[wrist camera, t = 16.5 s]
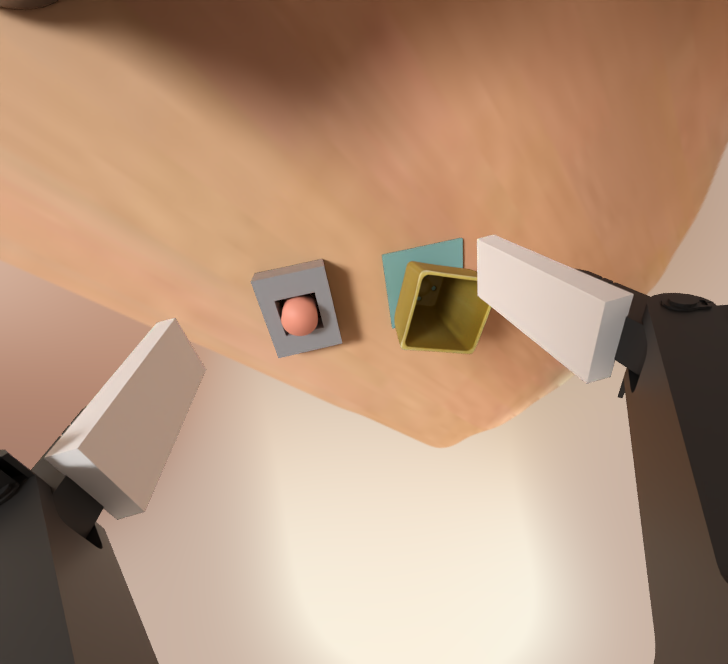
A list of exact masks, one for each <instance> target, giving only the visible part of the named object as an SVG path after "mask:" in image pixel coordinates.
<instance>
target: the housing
mask: <svg viewBox="0 0 728 664" xmlns="http://www.w3.org/2000/svg"><path fill="white" fill-rule="evenodd" d="M251 284H252V287H253V289H254V292H255V295H256V298H257V300H258V303H259V306H260V308H261V311H262V314H263V317H264V319H265V322H266V325H267V328H268V330H269V333H270V336H271V339H272V341H273V344H274V347H275V350H276V352H277V355H278V358H281V357H286V356H290V355H294V354H299V353H303V352H307V351H312V350H316V349H320V348H325V347H329V346H333V345H338V344H342V339H341V334H340V330H339V326H338V321H337V317H336V313H335V309H334V305H333V300H332V296H331V292H330V288H329V283H328V279H327V275H326V271H325V267H324V262H323V259H320V260H315V261H310V262H306V263H301V264H296V265H292V266H287V267H282V268H278V269H273V270H268V271H264V272H259V273H255V274H254V276H253V278H252V280H251ZM313 292H315V295H316V299H317V303H318V307H319V311H320V314H321V318H318V323H317V326H316V328H315V329H314V330H313V331H312V332H311V333H310V334H308V335H305V336H295V335H292V334H290V333H288V332H287V331H286V330H285V329H284V327H283V325H282V322H281V317H282V311H283V310H282V307H281V304H280V301H279V300H281V299H286V298H290V297H295V296H300V295H304V294H309V293H313Z"/></svg>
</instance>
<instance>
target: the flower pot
mask: <svg viewBox="0 0 728 664" xmlns="http://www.w3.org/2000/svg"><path fill="white" fill-rule="evenodd" d="M426 275H427V276H426ZM425 276H426V277H425ZM433 286H435V287H436V289H435V290H432V287H433ZM418 297H421V299H420V300H417V298H418ZM491 308H492V307H491V306H490V305H488V304H487V303H486V302H485V301H483V300H482V299H481V298H480V297H479V296H478V284H477V272H476V271H473V270H470V269H465V268H457V267H449V266H441V265H434V264H427V263H421V262H415V261H410V262H409V263H408V264H407V266H406V270H405V274H404V279H403V283H402V287H401V291H400V295H399V299H398V303H397V307H396V311H395V317H394V322H395V328H396V331H397V335H398V339H399V343H400V346H401V349H403V350H416V351H432V352H446V353H459V354H472V353H473V352H474V350H475V348H476V346H477V344H478V341H479V339H480V336H481V333H482V331H483V328H484V326H485V323H486V320H487V318H488V315H489V313H490V310H491Z"/></svg>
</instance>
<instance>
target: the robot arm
mask: <svg viewBox="0 0 728 664" xmlns="http://www.w3.org/2000/svg"><path fill="white" fill-rule="evenodd" d="M56 1H58V0H0V7H4V8H11V9H34V8H39V7H44V6H47V5H50V4H52V3H54V2H56ZM477 284H478V296H479V297H480V298H481V299H482V300H483V301H485V302H486V303H487V304H488V305H490V306H491V307H492V308H493V309H495V310H496V311H497V312H498V313H500V314H501V315H502V316H503V317H505V318H506V319H507V320H508V321H509V322H511V323H512V324H513V325H514V326H516V327H517V328H518V329H519V330H521V331H522V332H523V333H524V334H526V335H527V336H528V337H529V338H530V339H532V340H533V341H534V342H535V343H537V344H538V345H539V346H540V347H542V348H543V349H544V350H545V351H547V352H548V353H549V354H550V355H552V356H553V357H554V358H555V359H556V360H558V361H559V362H560V363H561V364H563V365H564V366H565V367H566V368H568V369H569V370H570V371H571V372H573V373H574V374H575V375H576V376H578V377H579V378H580V379H581V380H582V381H584V382H585V383H586V384H588V383H591V382H594V381H598V380H601V379H605V378H608V377H611V373H612V370H613V366H614V362H615V360H616V361H618V362H619V363H621V364H622V365H624V366H625V367H627V369H626V372H625V375H624V378H623V381H622V385H621V388H620V391H619V394H618V397H619V398H623V395H624V393H626V402H627V410H628V418H629V426H630V434H631V443H632V451H633V459H634V468H635V476H636V483H637V492H638V500H639V509H640V516H641V525H642V533H643V542H644V550H645V558H646V567H647V575H648V583H649V591H650V599H651V607H652V616H653V623H654V631H655V660H654V664H728V305H720V306H717V305H715V304H714V303H713V302H712V301H709V300H707V299H704V298H702V297H698V296H694V295H690V294H681V293H663V294H658V295H654V296H652V297H650V296H647V295H645V294H642V293H640V292H638V291H635V290H633V289H630V288H628V287H625V286H623V285H621V284H618V283H613V281H611V280H608V279H606V278H602V277H601V276H599V275H596V274H594V273H592V272H589V271H584V270H579V269H574V268H571V267H569V266H566V265H564V264H562V263H559V262H557V261H555V260H552V259H550V258H548V257H545V256H543V255H541V254H538V253H536V252H534V251H531V250H529V249H527V248H524V247H522V246H519V245H517V244H515V243H512V242H510V241H508V240H505V239H503V238H501V237H498V236H496V235H490V236H486V237H482V238H479V239H477ZM205 371H206V368H205V366H204V364H203V363H202V361H201V360H200V358H199V356H198V355H197V353H196V352H195V350H194V348H193V346H192V345H191V343H190V341H189V340H188V338H187V336H186V335H185V333H184V331H183V330H182V328H181V326H180V325H179V323H178V321H177V320H176V318H173V319H169V320H165V321H161V322H157V323H156V324H155V325H154V327H153V328H152V329H151V330H150V331H149V333H148V334H147V335H146V336H145V337H144V339H143V340H142V341H141V342H140V343H139V345H138V346H137V347H136V348H135V349H134V350H133V352H132V353H131V354H130V355H129V356H128V358H127V359H126V360H125V361H124V362H123V364H122V365H121V366H120V367H119V368H118V370H117V371H116V372H115V373H114V374H113V376H112V377H111V378H110V379H109V380H108V382H107V383H106V384H105V385H104V386H103V387H102V389H101V390H100V391H99V392H98V394H97V395H96V396H95V397H94V398H93V399H92V401H91V402H90V403H89V404H88V405H87V406H86V407H85V408H84V409H82V410H81V411H80V413H79V414H78V415H77V416H76V417H75V419H74V420H73V421H72V422H71V425H69V426H68V427H67V428H66V429H65V430H64V432H63V433H62V436H60V437H58V439H57V440H56V441H55V442H54V444H53V445H52V446H51V447H50V448H49V449H48V451H47V452H46V453H45V454H44V455H43V456H42V458H41V459H40V460H39V461H38V462H37V463H36V465H35V466H34V467H33V468H32V469H31V470H30V469H28V468H27V467H26V466H24V465H23V464H22V463H21V462H20V461H18V460H17V459H16V458H14V457H13V456H12V455H11V454H9V453H8V452H7V451H6V450H0V664H159V663H158V661H157V658H156V656H155V654H154V651H153V649H152V646H151V644H150V641H149V639H148V636H147V634H146V631H145V629H144V626H143V624H142V621H141V619H140V616H139V614H138V611H137V609H136V606H135V604H134V602H133V599H132V596H131V594H130V591H129V589H128V586H127V584H126V582H125V579H124V576H123V574H122V572H121V569H120V567H119V564H118V562H117V559H116V557H115V555H114V552H113V549H112V547H111V544H110V542H109V539H108V537H107V535H106V532H105V530H104V528H102V527H101V526H100V525H99V524H98V523H97V522H96V520H97V519H98V517H99V515H100V513H101V511H102V510H103V508H104V509H105V510H106V511H107V512H109V513H110V514H111V515H112V516H113V517H114V518H116V519H117V520H119V519H122V518H125V517H129V516H132V515H136V514H139V513H142V512H145V510H146V508H147V506H148V504H149V501H150V499H151V497H152V494H153V492H154V490H155V487H156V485H157V483H158V480H159V478H160V476H161V473H162V471H163V468H164V466H165V464H166V462H167V459H168V457H169V455H170V453H171V450H172V448H173V446H174V443H175V441H176V439H177V436H178V434H179V431H180V429H181V427H182V425H183V422H184V420H185V418H186V415H187V413H188V411H189V408H190V406H191V403H192V401H193V399H194V397H195V394H196V392H197V390H198V387H199V385H200V383H201V380H202V378H203V376H204V373H205Z"/></svg>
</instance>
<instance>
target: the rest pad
mask: <svg viewBox="0 0 728 664" xmlns="http://www.w3.org/2000/svg"><path fill="white" fill-rule="evenodd" d="M382 260H383V267H384V274H385V281H386V288H387V295H388V302H389V309H390V316H391V323H392V328H395V322H394V317H395V311H396V307H397V303H398V299H399V295H400V291H401V287H402V283H403V279H404V274H405V270H406V266H407V264H408V263H409V262H410V261H415V262H421V263H427V264H434V265H441V266H449V267H457V268H463V238H458V239H453V240H448V241H444V242H439V243H434V244H430V245H425V246H420V247H416V248H411V249H407V250H402V251H397V252H393V253H388V254H383V255H382ZM426 276H427V275H426ZM426 276H425V277H426ZM435 289H436V287H435V286H433V287H432V290H435ZM420 299H421V297H418V298H417V300H420Z"/></svg>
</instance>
